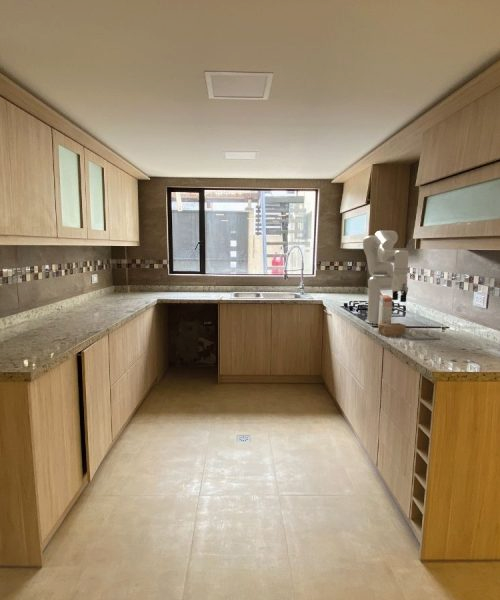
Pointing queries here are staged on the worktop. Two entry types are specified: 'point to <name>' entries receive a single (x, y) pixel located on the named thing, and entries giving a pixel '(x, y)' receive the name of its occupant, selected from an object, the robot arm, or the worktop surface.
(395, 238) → the robot arm
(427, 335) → the peg stand
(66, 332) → the worktop surface
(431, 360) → the worktop surface
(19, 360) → the worktop surface
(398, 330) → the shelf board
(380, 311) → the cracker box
